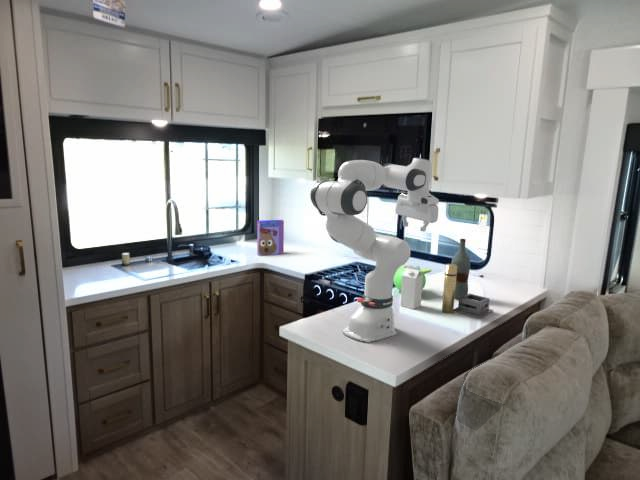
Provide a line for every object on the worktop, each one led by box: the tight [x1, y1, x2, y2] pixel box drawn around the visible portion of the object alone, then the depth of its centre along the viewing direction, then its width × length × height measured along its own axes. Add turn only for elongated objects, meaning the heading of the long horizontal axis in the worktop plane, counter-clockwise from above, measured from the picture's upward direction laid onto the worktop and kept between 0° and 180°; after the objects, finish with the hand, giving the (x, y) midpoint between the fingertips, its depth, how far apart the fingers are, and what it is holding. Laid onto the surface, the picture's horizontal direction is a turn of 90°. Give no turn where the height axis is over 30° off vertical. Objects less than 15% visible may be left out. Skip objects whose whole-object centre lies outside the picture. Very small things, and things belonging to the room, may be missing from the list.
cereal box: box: [256, 219, 285, 257], centre depth 303 cm, size 17×5×24 cm, turn 113°
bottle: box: [450, 238, 471, 301], centre depth 219 cm, size 9×9×30 cm
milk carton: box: [399, 265, 423, 310], centre depth 206 cm, size 7×7×19 cm
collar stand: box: [453, 292, 494, 320], centre depth 201 cm, size 13×13×6 cm
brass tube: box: [441, 263, 457, 315], centre depth 199 cm, size 5×5×22 cm
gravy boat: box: [393, 264, 433, 292], centre depth 227 cm, size 18×17×15 cm
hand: (414, 228), depth 189 cm, fingers open, 8 cm apart
